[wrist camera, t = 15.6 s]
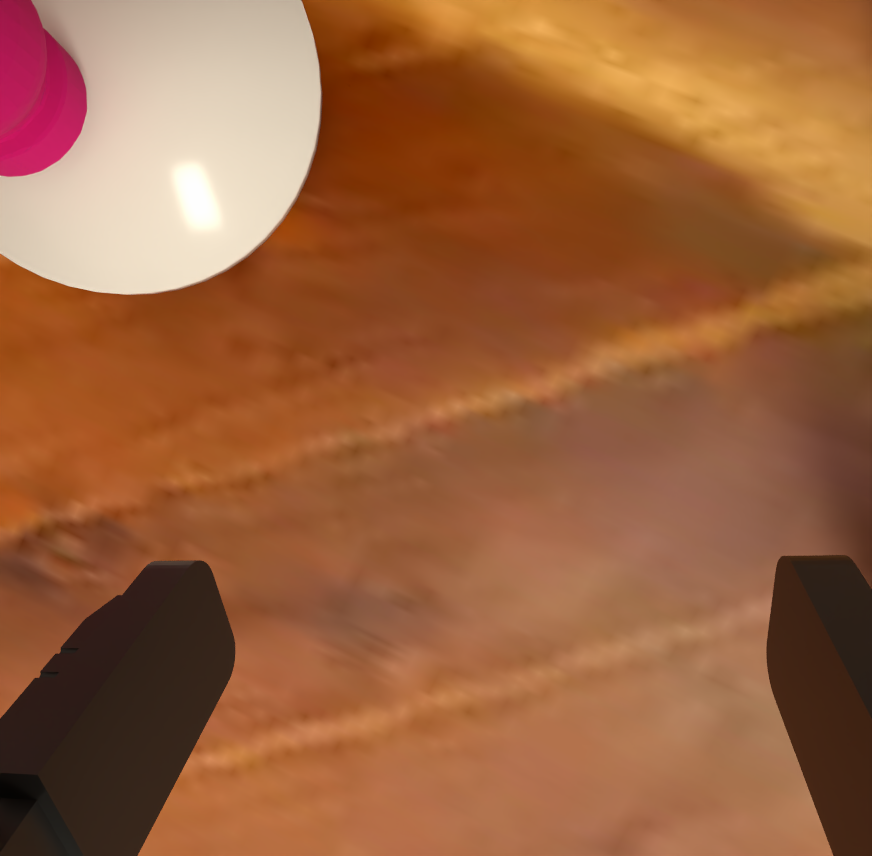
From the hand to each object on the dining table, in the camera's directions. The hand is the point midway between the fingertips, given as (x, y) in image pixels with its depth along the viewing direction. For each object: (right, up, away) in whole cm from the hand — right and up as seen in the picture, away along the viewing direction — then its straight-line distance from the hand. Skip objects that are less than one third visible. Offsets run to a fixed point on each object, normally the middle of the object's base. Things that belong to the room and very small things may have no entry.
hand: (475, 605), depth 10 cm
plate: (-15, +18, +21) cm, 32 cm away
